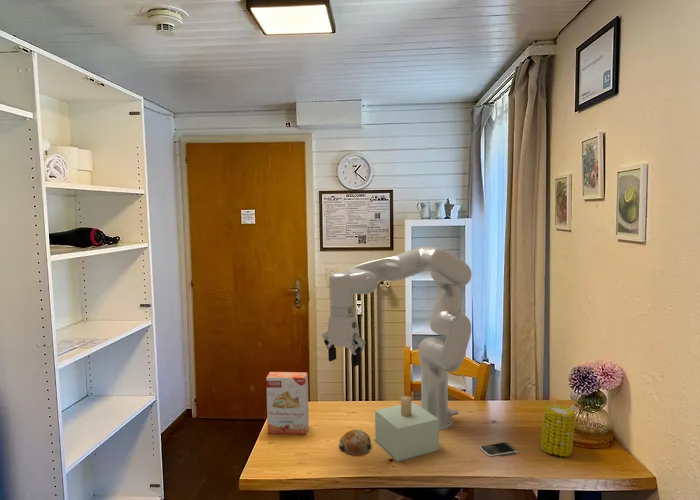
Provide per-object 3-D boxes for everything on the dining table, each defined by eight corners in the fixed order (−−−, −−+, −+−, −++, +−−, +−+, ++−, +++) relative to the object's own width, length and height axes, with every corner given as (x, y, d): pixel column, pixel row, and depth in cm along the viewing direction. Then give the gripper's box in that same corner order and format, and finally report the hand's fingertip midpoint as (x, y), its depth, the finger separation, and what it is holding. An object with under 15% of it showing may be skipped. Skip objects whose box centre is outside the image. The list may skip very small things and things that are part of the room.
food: (535, 452, 155) (559, 448, 158) (561, 461, 144) (587, 457, 147) (530, 404, 157) (554, 401, 160) (556, 409, 146) (581, 406, 149)
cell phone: (478, 450, 155) (478, 446, 154) (508, 445, 157) (508, 441, 157) (488, 460, 149) (488, 455, 149) (519, 454, 152) (519, 450, 151)
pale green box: (413, 430, 167) (413, 386, 166) (438, 450, 153) (438, 402, 152) (375, 439, 161) (374, 394, 160) (398, 461, 147) (397, 411, 146)
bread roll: (362, 468, 151) (372, 447, 150) (333, 452, 152) (343, 431, 151) (367, 452, 161) (377, 433, 159) (340, 438, 162) (349, 418, 161)
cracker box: (267, 434, 167) (265, 376, 165) (271, 426, 173) (269, 371, 171) (306, 435, 166) (305, 377, 164) (309, 427, 172) (307, 371, 170)
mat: (414, 431, 168) (414, 429, 168) (440, 451, 153) (440, 450, 153) (373, 440, 161) (373, 439, 161) (397, 463, 147) (397, 462, 147)
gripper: (370, 311, 149) (372, 364, 151) (329, 305, 160) (331, 355, 162) (355, 316, 143) (357, 371, 145) (314, 310, 154) (316, 361, 156)
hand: (343, 362), depth 153 cm, fingers open, 9 cm apart
